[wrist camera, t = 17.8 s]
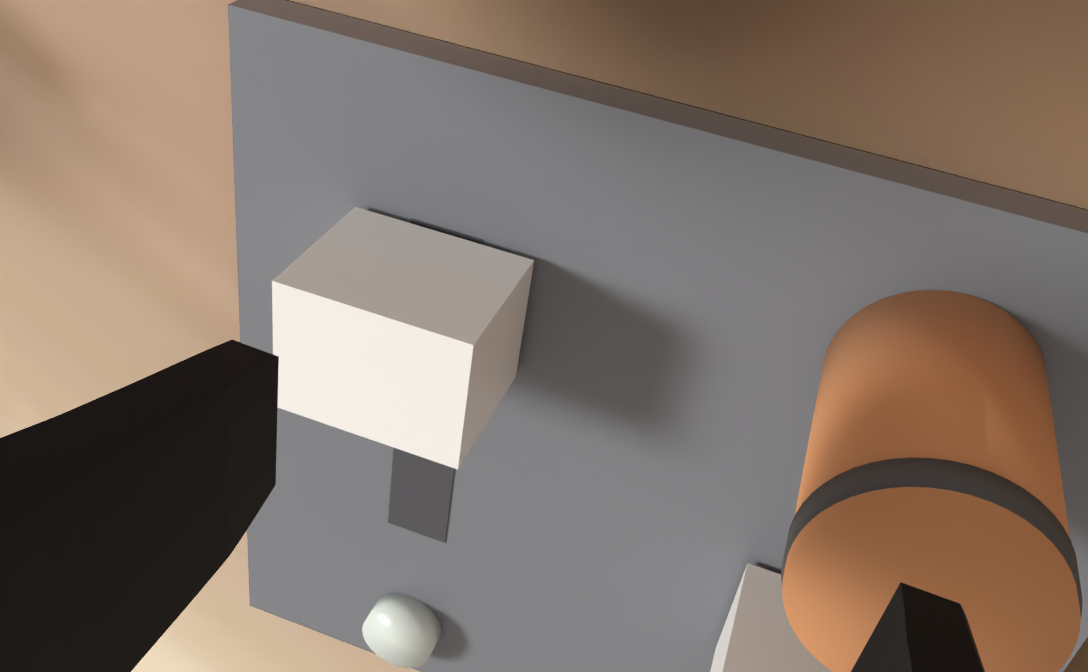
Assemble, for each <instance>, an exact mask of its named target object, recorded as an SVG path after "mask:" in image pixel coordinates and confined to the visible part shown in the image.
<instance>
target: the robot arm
mask: <svg viewBox="0 0 1088 672" xmlns="http://www.w3.org/2000/svg"><path fill="white" fill-rule="evenodd" d="M278 364H279V356H276V355H273V354H270V353H268V352H265V351H262V350H259V349H257V348H254V347H251V346H248V345H246V344H243V343H240V342H237V341H234V340H230V341H228V342H225V343H223V344H220V345H218V346H216V347H213V348H211V349H208V350H206V351H204V352H202V353H199V354H197V355H195V356H192V357H190V358H188V359H186V360H183V361H181V362H179V363H177V364H175V365H172V366H170V367H168V368H166V369H163V370H161V371H159V372H157V373H155V374H152V375H150V376H148V377H146V378H143V379H141V380H139V381H137V382H135V383H132V384H130V385H128V386H126V387H123V388H121V389H119V390H116V391H114V392H112V393H109V394H107V395H105V396H102V397H100V398H98V399H96V400H93V401H91V402H89V403H86V404H84V405H82V406H79V407H77V408H75V409H72V410H70V411H68V412H66V413H63V414H61V415H59V416H56V417H54V418H51V419H49V420H46V421H43V422H41V423H38V424H36V425H33V426H31V427H28V428H25V429H23V430H20V431H18V432H15V433H12V434H10V435H7V436H5V437H2V438H0V672H131V671H132V669H133V668H134V667H135V666H136V665H137V664H138V663H139V661H140V660H141V659H142V658H143V657H144V656H145V654H146V653H147V652H148V651H149V650H150V649H151V647H152V646H153V645H154V644H155V643H156V642H157V640H158V639H159V638H160V637H161V636H162V635H163V633H164V632H165V631H166V630H167V629H168V628H169V627H170V625H171V624H172V623H173V622H174V621H175V620H176V618H177V617H178V616H179V615H180V614H181V613H182V611H183V610H184V609H185V608H186V607H187V606H188V604H189V603H190V602H191V601H192V600H193V598H194V597H195V596H196V595H197V594H198V593H199V591H200V590H201V589H202V588H203V587H204V585H205V584H206V583H207V582H208V581H209V580H210V578H211V577H212V576H213V575H214V574H215V573H216V571H217V570H218V569H219V568H220V566H221V565H222V564H223V563H224V562H225V560H226V559H227V558H228V557H229V556H230V554H231V553H232V551H233V550H234V548H235V547H236V545H237V544H238V542H239V541H240V539H241V538H242V536H243V535H244V533H245V532H246V530H247V529H248V527H249V526H250V525H251V523H252V521H253V520H254V518H255V517H256V515H257V514H258V512H259V510H260V509H261V507H262V506H263V504H264V502H265V501H266V499H267V498H268V496H269V495H270V493H271V491H272V490H273V488H274V487H275V485H276V449H277V407H278ZM851 672H985V670H984V667H983V664H982V661H981V659H980V656H979V653H978V650H977V647H976V644H975V641H974V638H973V635H972V632H971V629H970V626H969V623H968V620H967V617H966V614H965V612H964V610H963V608H962V606H961V604H960V603H957V602H954V601H951V600H949V599H946V598H943V597H940V596H938V595H935V594H932V593H929V592H927V591H924V590H921V589H918V588H916V587H913V586H910V585H907V584H905V583H902V582H900V584H899V586H898V588H897V590H896V591H895V593H894V595H893V597H892V599H891V600H890V602H889V604H888V606H887V608H886V609H885V611H884V613H883V615H882V617H881V618H880V620H879V622H878V624H877V626H876V627H875V629H874V631H873V633H872V635H871V636H870V638H869V640H868V642H867V644H866V645H865V647H864V649H863V651H862V653H861V654H860V656H859V658H858V660H857V662H856V663H855V665H854V667H853V669H852V671H851Z"/></svg>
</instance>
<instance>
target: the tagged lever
mask: <svg viewBox="0 0 1088 672" xmlns="http://www.w3.org/2000/svg"><path fill="white" fill-rule="evenodd" d="M710 672H832V671H830V670H829V669H828V668H826V667H825V666H824V665H822V664H821V663H820V662H819V661H818V660H817V659H816V658H815V657H814V656H813V655H812V654H811V653H810V652H809V651H808V650H807V649H806V648H805V646H804V645H803V644H802V643H801V641H800V640H799V638H798V637H797V636H796V634H795V633H794V631H793V629H792V627H791V625H790V623H789V621H788V618H787V615H786V612H785V609H784V604H783V597H782V581H781V574H778V573H775V572H772V571H769V570H766V569H763V568H760V567H757V566H754V565H752V564H749V563H747V566H746V568H745V571H744V574H743V576H742V579H741V582H740V584H739V587H738V590H737V592H736V595H735V598H734V601H733V603H732V606H731V609H730V611H729V614H728V617H727V619H726V622H725V625H724V627H723V630H722V633H721V635H720V638H719V641H718V643H717V646H716V649H715V654H714V658H713V662H712V666H711V670H710Z"/></svg>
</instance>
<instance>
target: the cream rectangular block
mask: <svg viewBox="0 0 1088 672" xmlns="http://www.w3.org/2000/svg"><path fill="white" fill-rule="evenodd" d="M533 265H534V260H532V259H528V258H525V257H522V256H518V255H515V254H512V253H508V252H505V251H502V250H498V249H495V248H492V247H488V246H485V245H482V244H478V243H475V242H472V241H468V240H465V239H462V238H458V237H455V236H452V235H448V234H445V233H441V232H438V231H435V230H431V229H428V228H425V227H421V226H418V225H415V224H411V223H408V222H405V221H401V220H398V219H395V218H391V217H388V216H385V215H381V214H378V213H375V212H371V211H368V210H365V209H361V208H358V207H354V208H353V209H352V210H351V211H350V212H349V213H348V214H346V215H345V216H344V217H343V218H342V219H341V220H340V221H339V222H337V223H336V224H335V225H334V226H333V227H332V228H331V229H330V230H328V231H327V232H326V233H325V234H324V235H323V236H322V237H321V238H319V239H318V240H317V241H316V242H315V243H314V244H313V245H312V246H310V247H309V248H308V249H307V250H306V251H305V252H304V253H303V254H301V255H300V256H299V257H298V258H297V259H296V260H295V261H294V262H293V263H291V264H290V265H289V266H288V267H287V268H286V269H285V270H284V271H282V272H281V273H280V274H279V275H278V276H277V277H276V278H275V279H273V280H272V321H273V355H276V356H279V364H278V407H277V408H280V409H283V410H286V411H289V412H292V413H295V414H298V415H301V416H304V417H307V418H309V419H312V420H315V421H318V422H321V423H324V424H327V425H330V426H333V427H336V428H338V429H341V430H344V431H347V432H350V433H353V434H356V435H359V436H362V437H365V438H368V439H370V440H373V441H376V442H379V443H382V444H385V445H388V446H391V447H394V448H397V449H399V450H402V451H405V452H408V453H411V454H414V455H417V456H420V457H423V458H426V459H429V460H431V461H434V462H437V463H440V464H443V465H446V466H449V467H452V468H455V469H459V467H460V465H461V464H462V462H463V461H464V459H465V457H466V456H467V454H468V453H469V451H470V449H471V448H472V446H473V445H474V443H475V441H476V440H477V438H478V436H479V435H480V433H481V432H482V430H483V428H484V427H485V425H486V424H487V422H488V420H489V419H490V417H491V416H492V414H493V412H494V411H495V409H496V408H497V406H498V404H499V403H500V401H501V400H502V398H503V396H504V395H505V393H506V391H507V390H508V388H509V387H510V385H511V383H512V382H513V380H514V379H515V377H516V372H517V365H518V359H519V353H520V347H521V340H522V334H523V328H524V321H525V315H526V309H527V303H528V296H529V290H530V284H531V277H532V271H533Z"/></svg>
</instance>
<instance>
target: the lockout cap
mask: <svg viewBox="0 0 1088 672" xmlns="http://www.w3.org/2000/svg"><path fill="white" fill-rule="evenodd" d="M781 581H782V597H783V604H784V609H785V612H786V615H787V618H788V621H789V623H790V625H791V627H792V629H793V631H794V633H795V634H796V636H797V637H798V638H799V640H800V641H801V643H802V644H803V645H804V646H805V648H806V649H807V650H808V651H809V652H810V653H811V654H812V655H813V656H814V657H815V658H816V659H817V660H818V661H819V662H820V663H821V664H822V665H824V666H825V667H826V668H828V669H829V670H830V671H832V672H851V671H852V669H853V667H854V665H855V663H856V662H857V660H858V658H859V656H860V654H861V653H862V651H863V649H864V647H865V645H866V644H867V642H868V640H869V638H870V636H871V635H872V633H873V631H874V629H875V627H876V626H877V624H878V622H879V620H880V618H881V617H882V615H883V613H884V611H885V609H886V608H887V606H888V604H889V602H890V600H891V599H892V597H893V595H894V593H895V591H896V590H897V588H898V586H899V584H900V582H902V583H905V584H907V585H910V586H913V587H916V588H918V589H921V590H924V591H927V592H929V593H932V594H935V595H938V596H940V597H943V598H946V599H949V600H951V601H954V602H957V603H960V604H961V606H962V608H963V610H964V612H965V614H966V617H967V620H968V623H969V626H970V629H971V632H972V635H973V638H974V641H975V644H976V647H977V650H978V653H979V656H980V659H981V661H982V664H983V667H984V670H985V672H1058V671H1059V670H1060V669H1061V668H1062V667H1063V665H1064V664H1065V663H1066V661H1067V660H1068V659H1069V657H1070V656H1071V654H1072V652H1073V650H1074V648H1075V645H1076V643H1077V640H1078V636H1079V632H1080V620H1081V616H1082V601H1083V599H1082V592H1081V585H1080V578H1079V572H1078V565H1077V558H1076V554H1075V551H1074V548H1073V545H1072V542H1071V540H1070V536H1069V528H1068V521H1067V514H1066V507H1065V500H1064V493H1063V486H1062V479H1061V472H1060V464H1059V457H1058V450H1057V443H1056V436H1055V429H1054V422H1053V415H1052V407H1051V400H1050V393H1049V386H1048V379H1047V372H1046V366H1045V362H1044V359H1043V356H1042V353H1041V351H1040V349H1039V347H1038V345H1037V343H1036V341H1035V340H1034V338H1033V337H1032V336H1031V334H1030V333H1029V332H1028V330H1027V329H1026V328H1025V327H1024V326H1023V325H1022V324H1021V323H1020V322H1019V321H1018V320H1017V319H1015V318H1014V317H1013V316H1011V315H1010V314H1009V313H1008V312H1006V311H1005V310H1003V309H1001V308H999V307H998V306H996V305H994V304H992V303H990V302H988V301H985V300H983V299H981V298H978V297H974V296H971V295H968V294H964V293H959V292H953V291H945V290H917V291H910V292H904V293H900V294H896V295H892V296H889V297H886V298H884V299H881V300H878V301H876V302H874V303H872V304H870V305H868V306H866V307H865V308H863V309H862V310H860V311H859V312H857V313H856V314H854V315H853V316H852V317H851V318H850V319H849V320H848V321H846V322H845V323H844V324H843V325H842V327H841V328H840V329H839V330H838V332H837V333H836V334H835V336H834V337H833V339H832V341H831V342H830V344H829V346H828V349H827V351H826V354H825V357H824V362H823V366H822V372H821V377H820V382H819V388H818V393H817V399H816V404H815V409H814V415H813V420H812V425H811V431H810V436H809V441H808V447H807V452H806V458H805V463H804V468H803V474H802V479H801V484H800V490H799V495H798V501H797V506H796V511H795V516H794V518H793V521H792V523H791V525H790V528H789V532H788V537H787V541H786V547H785V552H784V557H783V562H782V573H781Z"/></svg>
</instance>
